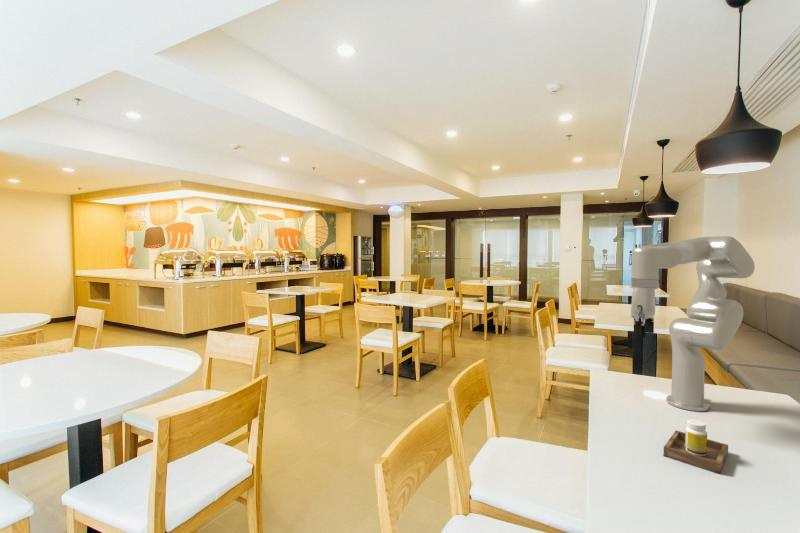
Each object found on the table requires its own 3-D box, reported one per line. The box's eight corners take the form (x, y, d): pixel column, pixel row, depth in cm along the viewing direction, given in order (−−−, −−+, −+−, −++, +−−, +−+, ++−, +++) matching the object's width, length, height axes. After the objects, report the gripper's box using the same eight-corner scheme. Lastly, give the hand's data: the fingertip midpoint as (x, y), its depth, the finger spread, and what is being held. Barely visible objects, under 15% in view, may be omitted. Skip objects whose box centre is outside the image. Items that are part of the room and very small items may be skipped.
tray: (675, 438, 114) (675, 430, 114) (728, 453, 106) (728, 444, 106) (663, 455, 105) (663, 447, 105) (719, 474, 96) (720, 464, 96)
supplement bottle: (710, 457, 103) (711, 427, 102) (690, 456, 104) (691, 425, 103) (700, 448, 107) (701, 419, 107) (681, 447, 108) (682, 418, 108)
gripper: (639, 281, 135) (638, 329, 136) (623, 285, 124) (622, 337, 124) (664, 282, 130) (663, 332, 131) (650, 286, 118) (649, 341, 119)
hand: (643, 334), depth 127 cm, fingers open, 9 cm apart
